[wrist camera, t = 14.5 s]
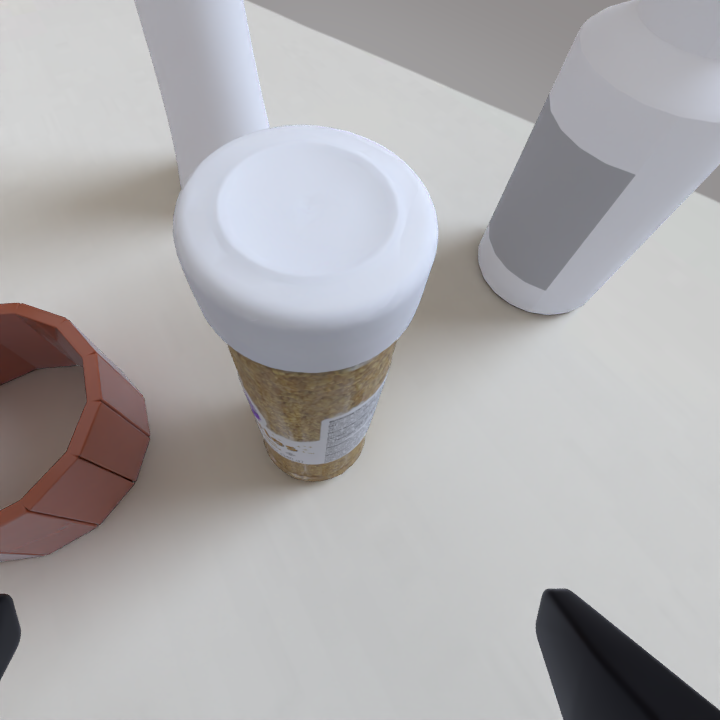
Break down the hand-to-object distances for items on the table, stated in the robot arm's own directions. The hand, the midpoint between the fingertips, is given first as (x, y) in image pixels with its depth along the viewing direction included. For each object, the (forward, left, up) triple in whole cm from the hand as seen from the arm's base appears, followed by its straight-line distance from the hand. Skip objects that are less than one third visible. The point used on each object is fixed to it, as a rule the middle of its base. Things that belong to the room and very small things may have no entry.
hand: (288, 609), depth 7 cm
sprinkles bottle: (+5, +3, -10) cm, 12 cm away
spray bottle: (+20, -2, -10) cm, 23 cm away
